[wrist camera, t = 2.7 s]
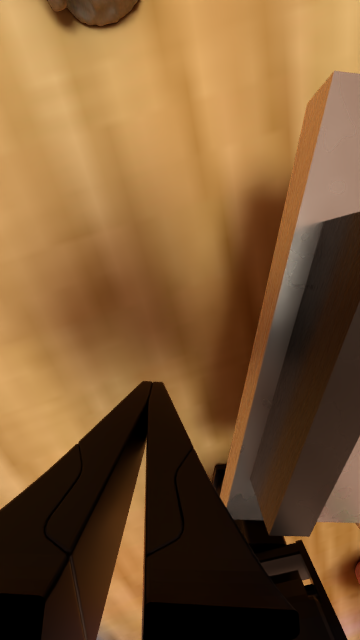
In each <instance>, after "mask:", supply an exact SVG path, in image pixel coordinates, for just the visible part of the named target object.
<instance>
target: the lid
mask: <svg viewBox="0 0 360 640" xmlns="http://www.w3.org/2000/svg"><path fill="white" fill-rule="evenodd" d="M220 498H221V500H222V501H223V503H224V505H225V506H226V508H227V510H228V511H229V513H230V514H231V516H232V518H233V519H239V520H264V522H265V525H266V528H267V531H268V534H269V536H307V537H309V536H310V534H311V532H312V530H313V528H314V526H315V524H316V522H344V523H360V74H355V73H347V72H340V71H334V72H333V73H332V74H331V75H330V77H329V78H328V79H327V80H326V81H325V83H324V84H323V85H322V86H321V87H320V89H319V90H318V91H317V92H316V93H315V95H314V96H313V97H312V98H311V100H310V101H309V102H308V103H307V107H306V112H305V116H304V121H303V125H302V129H301V134H300V138H299V143H298V147H297V152H296V156H295V161H294V165H293V170H292V174H291V179H290V183H289V188H288V192H287V197H286V201H285V206H284V210H283V215H282V219H281V224H280V228H279V233H278V237H277V242H276V246H275V251H274V255H273V260H272V264H271V269H270V273H269V278H268V282H267V287H266V291H265V296H264V300H263V304H262V309H261V313H260V318H259V322H258V327H257V331H256V336H255V340H254V345H253V349H252V354H251V358H250V363H249V367H248V372H247V376H246V381H245V385H244V390H243V394H242V399H241V403H240V408H239V412H238V417H237V421H236V426H235V430H234V435H233V439H232V444H231V448H230V453H229V457H228V462H227V466H226V471H225V475H224V479H223V484H222V488H221V493H220Z"/></svg>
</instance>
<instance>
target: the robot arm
mask: <svg viewBox="0 0 360 640" xmlns="http://www.w3.org/2000/svg"><path fill="white" fill-rule="evenodd" d="M146 440H147V447H146V487H145V526H144V565H143V605H142V640H347V638H346V635H345V633H344V631H343V629H342V626H341V624H340V622H339V620H338V618H337V616H336V613H335V611H334V609H333V607H332V605H331V603H330V600H329V598H328V596H327V594H326V592H325V590H324V587H323V585H322V583H321V581H320V579H319V577H318V574H317V572H316V570H315V568H314V566H313V564H312V561H311V559H310V557H309V555H308V553H307V551H306V549H305V546H304V544H303V542H302V540H298V541H296V543H293V544H289V545H287V544H286V541H285V539H284V536H269V534H268V531H267V528H266V525H265V522H264V520H239V519H233V518H232V516H231V514H230V513H229V511H228V510H227V508H226V506H225V505H224V503H223V501H222V500H221V498H220V493H221V488H222V484H223V479H224V475H225V471H226V466H227V465H218V466H216V467H215V471H214V476H213V481H212V483H211V481H210V479H209V477H208V475H207V474H206V472H205V470H204V468H203V466H202V464H201V462H200V460H199V458H198V455H197V453H196V451H195V449H193V445H192V443H191V441H190V439H189V437H188V435H187V432H186V430H185V428H184V426H183V424H182V422H181V420H180V417H179V415H178V413H177V411H176V409H175V407H174V405H173V403H172V400H171V398H170V396H169V394H168V392H167V390H166V388H165V386H164V384H163V382H153V383H152V382H151V381H143V382H141V383H140V384H139V385H138V386H137V387H136V388H135V389H134V390H133V391H132V392H131V393H130V394H129V395H128V396H127V397H125V398H124V399H123V400H122V401H121V402H120V403H119V404H118V405H117V406H116V407H115V408H114V409H113V410H112V411H111V412H110V413H109V414H108V415H106V416H105V417H104V418H103V419H102V420H101V421H100V422H99V423H98V424H97V425H96V426H95V427H94V428H93V429H92V430H91V431H90V432H89V433H87V434H86V435H85V436H84V437H83V438H82V439H81V440H80V441H79V443H78V444H76V445H75V446H74V447H73V448H72V449H70V450H69V451H68V452H67V453H66V454H65V455H64V456H63V457H62V458H61V459H60V460H59V461H57V462H56V463H55V464H54V465H53V466H52V467H51V468H50V469H49V470H48V471H46V472H45V473H44V474H43V475H42V476H40V477H39V478H38V479H37V480H36V481H35V482H33V483H32V484H31V485H30V486H29V487H27V488H26V489H25V490H24V491H23V492H21V493H20V494H19V495H18V496H17V497H15V498H14V499H13V500H12V501H10V502H9V503H8V504H7V505H6V506H4V507H3V508H2V509H1V510H0V640H96V638H97V634H98V630H99V626H100V622H101V618H102V614H103V610H104V606H105V603H106V599H107V595H108V591H109V587H110V583H111V579H112V575H113V571H114V567H115V563H116V559H117V555H118V551H119V548H120V544H121V540H122V536H123V532H124V528H125V524H126V520H127V516H128V512H129V508H130V504H131V500H132V496H133V492H134V489H135V485H136V481H137V477H138V473H139V469H140V465H141V461H142V457H143V453H144V449H145V445H146ZM306 579H310V581H311V583H312V584H310V585H305V586H304V585H303V582H302V580H306Z"/></svg>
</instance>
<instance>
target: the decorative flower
mask: <svg viewBox="0 0 360 640" xmlns="http://www.w3.org/2000/svg"><path fill="white" fill-rule="evenodd" d="M355 574H356V577H357V580H358V582H359V584H360V562H359V563H358V564H357V565H356V569H355Z"/></svg>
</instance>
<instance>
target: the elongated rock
mask: <svg viewBox="0 0 360 640" xmlns="http://www.w3.org/2000/svg"><path fill="white" fill-rule="evenodd" d="M47 1H48V2H49V4H50V6H51V7H52V9H53V10H54V11H58V12H59V11H61V10H63V9H65V8H68V9H69V10H70V11H71V13H72V14H73V15H74V16H75V17H76V18H77V19H79V20H80V21H81V22H82V23H86V24H88V25H95V24H96V25H99V26H103V25H105V24H111V23H117V22H118V20H119V19H120V18H122V17H124V16H125V15H126V14H127V13H128V12H130V11H131V10H132V8H133V6H134V5H135V4H136V3H137V2H138V0H47Z"/></svg>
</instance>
